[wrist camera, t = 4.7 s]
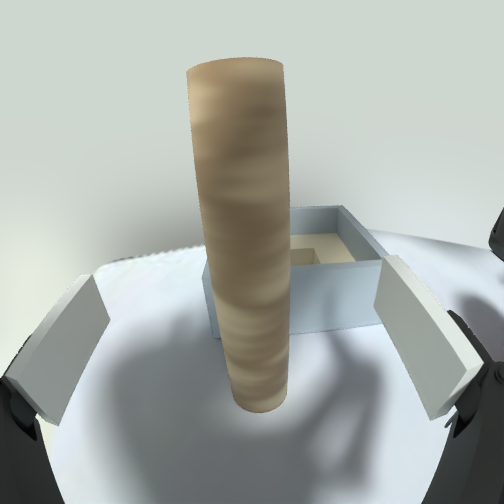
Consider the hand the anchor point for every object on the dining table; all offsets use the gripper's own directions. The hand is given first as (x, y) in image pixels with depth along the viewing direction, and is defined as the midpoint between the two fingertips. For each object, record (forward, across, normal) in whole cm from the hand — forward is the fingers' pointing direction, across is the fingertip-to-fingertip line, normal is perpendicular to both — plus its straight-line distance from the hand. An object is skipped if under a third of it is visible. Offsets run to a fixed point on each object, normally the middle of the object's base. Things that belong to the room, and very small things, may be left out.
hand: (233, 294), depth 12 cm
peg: (+2, +1, -11) cm, 11 cm away
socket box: (+16, +5, -11) cm, 20 cm away
